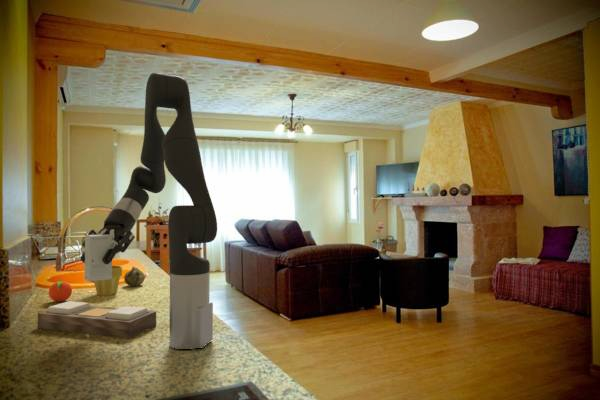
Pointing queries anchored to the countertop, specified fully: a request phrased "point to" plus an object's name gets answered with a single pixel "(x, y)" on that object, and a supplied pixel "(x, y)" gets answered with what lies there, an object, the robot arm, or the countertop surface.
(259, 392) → the countertop surface
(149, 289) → the countertop surface
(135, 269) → the onion
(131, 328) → the keypad
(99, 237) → the skincare box
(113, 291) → the plant pot
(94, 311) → the key amber
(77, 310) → the key outer
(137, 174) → the robot arm
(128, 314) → the key inner
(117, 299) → the countertop surface
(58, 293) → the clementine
